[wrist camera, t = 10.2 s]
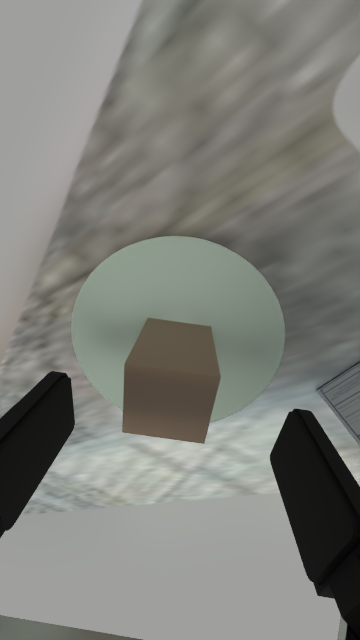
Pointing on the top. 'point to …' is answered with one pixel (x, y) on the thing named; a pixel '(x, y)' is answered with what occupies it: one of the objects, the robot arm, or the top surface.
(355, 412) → the medicine box
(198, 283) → the lid
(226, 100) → the top surface
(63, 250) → the top surface
